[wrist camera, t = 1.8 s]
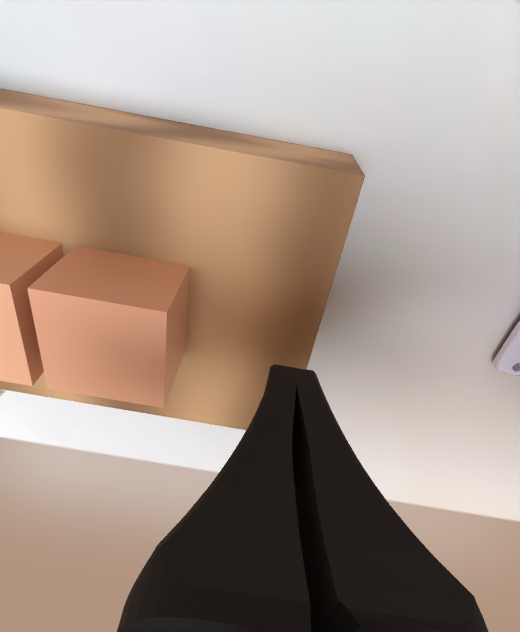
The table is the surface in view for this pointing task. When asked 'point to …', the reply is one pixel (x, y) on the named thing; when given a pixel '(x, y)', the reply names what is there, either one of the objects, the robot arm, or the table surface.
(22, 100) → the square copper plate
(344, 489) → the robot arm
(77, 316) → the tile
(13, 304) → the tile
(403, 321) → the table surface
